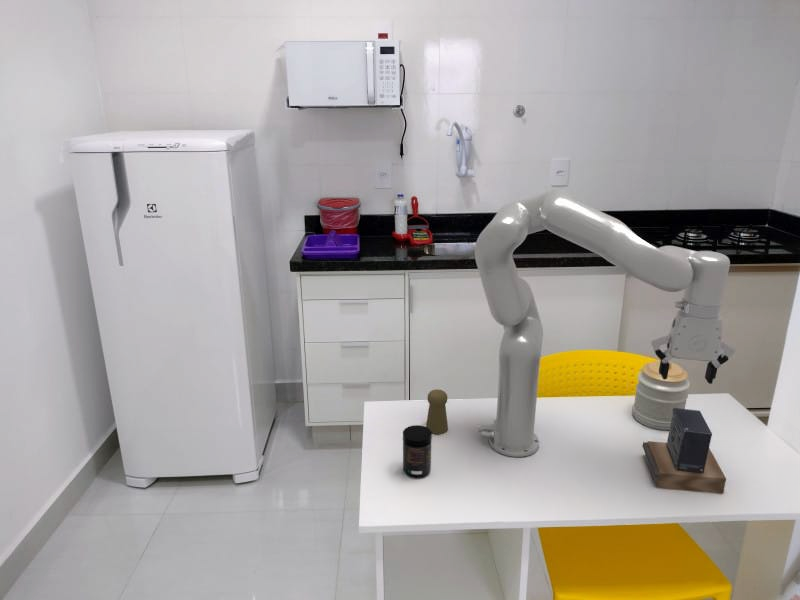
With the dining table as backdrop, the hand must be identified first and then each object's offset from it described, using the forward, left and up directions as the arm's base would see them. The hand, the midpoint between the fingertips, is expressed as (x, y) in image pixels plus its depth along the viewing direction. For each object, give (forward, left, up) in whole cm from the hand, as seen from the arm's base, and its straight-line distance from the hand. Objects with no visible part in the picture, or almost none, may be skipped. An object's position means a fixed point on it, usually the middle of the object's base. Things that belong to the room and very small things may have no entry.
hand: (685, 378), depth 141 cm
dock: (+2, -2, -24) cm, 24 cm away
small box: (+2, -2, -20) cm, 20 cm away
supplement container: (-60, -10, -24) cm, 65 cm away
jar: (+2, +23, -24) cm, 33 cm away
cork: (-57, +9, -24) cm, 62 cm away
